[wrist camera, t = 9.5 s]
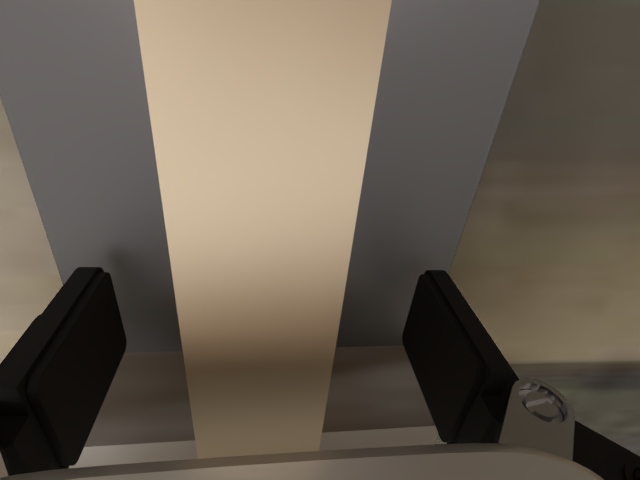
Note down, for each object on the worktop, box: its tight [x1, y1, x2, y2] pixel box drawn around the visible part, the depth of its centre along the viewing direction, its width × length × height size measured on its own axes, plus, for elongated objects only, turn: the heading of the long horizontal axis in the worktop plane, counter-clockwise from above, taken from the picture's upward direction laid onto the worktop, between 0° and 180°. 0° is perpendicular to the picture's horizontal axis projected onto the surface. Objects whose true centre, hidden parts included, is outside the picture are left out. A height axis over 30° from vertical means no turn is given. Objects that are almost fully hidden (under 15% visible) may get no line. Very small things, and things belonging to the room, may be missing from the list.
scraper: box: [68, 0, 439, 469], centre depth 10 cm, size 14×12×5 cm
